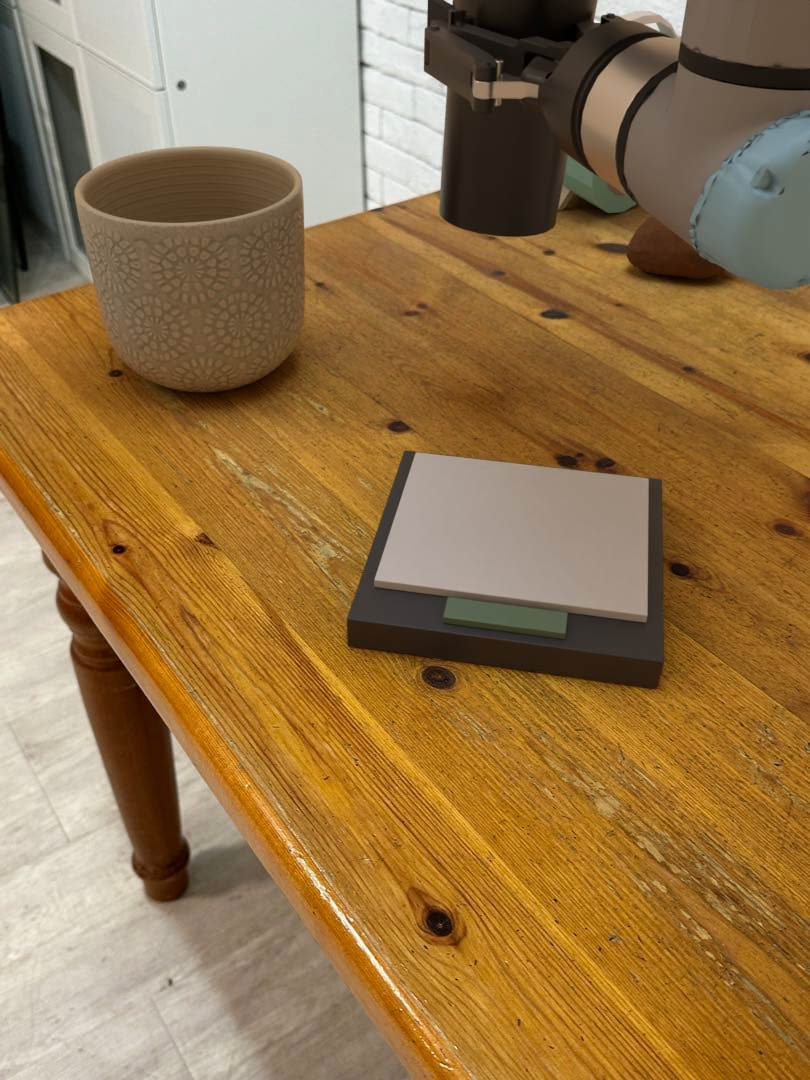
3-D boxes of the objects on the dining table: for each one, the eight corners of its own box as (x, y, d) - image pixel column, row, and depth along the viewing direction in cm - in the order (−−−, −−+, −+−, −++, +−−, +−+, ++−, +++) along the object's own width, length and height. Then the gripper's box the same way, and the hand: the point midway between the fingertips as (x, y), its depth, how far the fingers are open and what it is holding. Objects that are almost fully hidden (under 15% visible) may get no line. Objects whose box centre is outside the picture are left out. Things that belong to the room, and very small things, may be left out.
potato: (621, 255, 107) (631, 187, 102) (724, 260, 106) (739, 191, 102) (626, 285, 101) (637, 214, 97) (736, 290, 101) (752, 219, 96)
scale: (657, 504, 73) (663, 471, 71) (657, 689, 59) (665, 654, 57) (404, 475, 75) (404, 442, 74) (347, 646, 62) (346, 610, 60)
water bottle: (564, 249, 71) (631, -157, 58) (416, 229, 72) (449, -174, 59) (570, 204, 79) (630, -160, 66) (437, 187, 80) (471, -175, 67)
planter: (304, 416, 82) (293, 225, 72) (87, 415, 81) (47, 224, 72) (317, 318, 95) (309, 146, 85) (130, 317, 95) (101, 144, 85)
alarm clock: (621, 176, 125) (647, -10, 113) (684, 199, 119) (719, 6, 107) (517, 209, 116) (533, 12, 104) (580, 235, 111) (605, 30, 98)
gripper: (469, 202, 55) (346, 84, 72) (778, 167, 59) (593, 64, 77) (477, 47, 50) (343, -40, 67) (811, 23, 55) (607, -52, 72)
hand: (477, 16), depth 72 cm, fingers closed on water bottle, 6 cm apart
